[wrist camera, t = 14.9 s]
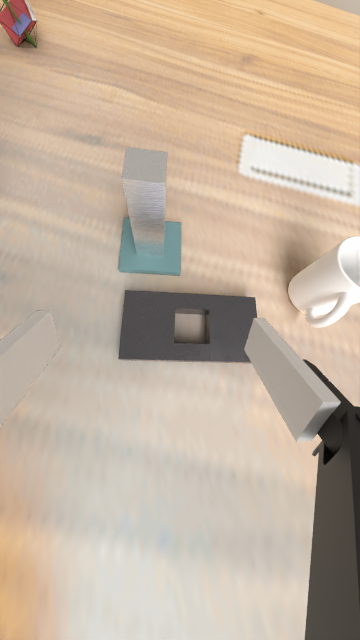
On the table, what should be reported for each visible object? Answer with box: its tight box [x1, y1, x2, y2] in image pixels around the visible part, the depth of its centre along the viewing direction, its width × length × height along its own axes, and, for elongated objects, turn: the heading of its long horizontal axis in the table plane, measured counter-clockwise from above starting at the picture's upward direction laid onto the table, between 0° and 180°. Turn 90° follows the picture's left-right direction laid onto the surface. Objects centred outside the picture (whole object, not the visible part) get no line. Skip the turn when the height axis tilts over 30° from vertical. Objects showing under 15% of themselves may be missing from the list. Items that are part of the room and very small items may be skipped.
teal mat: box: [118, 218, 181, 276], centre depth 33 cm, size 10×10×1 cm
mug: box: [288, 236, 360, 327], centre depth 29 cm, size 12×8×10 cm
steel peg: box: [122, 147, 167, 257], centre depth 26 cm, size 4×4×13 cm
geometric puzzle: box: [0, 0, 37, 48], centre depth 41 cm, size 7×7×8 cm
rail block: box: [119, 290, 257, 363], centre depth 29 cm, size 20×10×2 cm, turn 89°
